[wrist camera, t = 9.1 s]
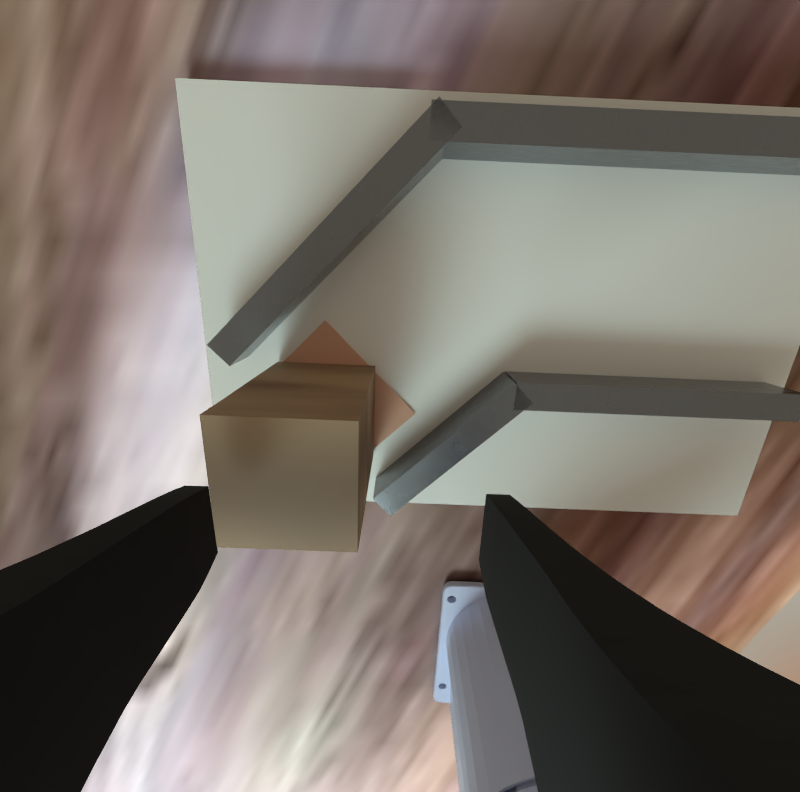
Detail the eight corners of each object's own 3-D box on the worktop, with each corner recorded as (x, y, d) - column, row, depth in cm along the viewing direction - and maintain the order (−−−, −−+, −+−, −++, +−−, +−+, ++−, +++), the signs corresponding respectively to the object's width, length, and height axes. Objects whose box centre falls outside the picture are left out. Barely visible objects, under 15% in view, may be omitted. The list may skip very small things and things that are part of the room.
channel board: (727, 508, 20) (739, 516, 20) (228, 489, 20) (222, 496, 19) (866, 118, 15) (888, 110, 14) (183, 85, 15) (173, 76, 14)
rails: (721, 505, 20) (756, 529, 18) (242, 486, 19) (225, 509, 18) (848, 139, 15) (916, 119, 13) (206, 109, 14) (176, 83, 13)
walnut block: (373, 454, 19) (357, 552, 12) (283, 450, 19) (216, 547, 12) (375, 365, 17) (358, 420, 11) (277, 361, 17) (199, 415, 11)
